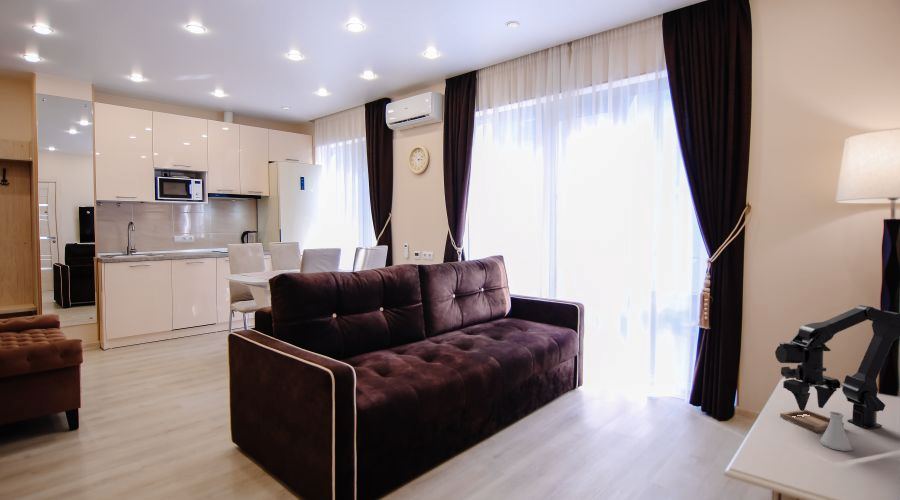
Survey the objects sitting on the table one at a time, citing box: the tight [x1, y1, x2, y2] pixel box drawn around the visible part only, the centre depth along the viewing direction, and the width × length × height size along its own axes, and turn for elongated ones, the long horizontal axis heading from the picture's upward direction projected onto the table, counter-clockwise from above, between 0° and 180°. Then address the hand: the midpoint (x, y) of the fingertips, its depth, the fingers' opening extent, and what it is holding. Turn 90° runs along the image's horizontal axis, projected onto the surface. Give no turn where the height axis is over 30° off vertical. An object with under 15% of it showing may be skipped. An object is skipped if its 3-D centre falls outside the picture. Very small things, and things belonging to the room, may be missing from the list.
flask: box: [819, 411, 853, 452], centre depth 135 cm, size 7×7×10 cm
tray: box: [779, 409, 844, 434], centre depth 151 cm, size 12×12×2 cm
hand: (811, 409), depth 151 cm, fingers open, 8 cm apart
